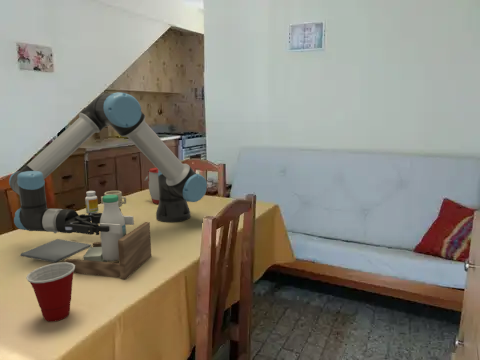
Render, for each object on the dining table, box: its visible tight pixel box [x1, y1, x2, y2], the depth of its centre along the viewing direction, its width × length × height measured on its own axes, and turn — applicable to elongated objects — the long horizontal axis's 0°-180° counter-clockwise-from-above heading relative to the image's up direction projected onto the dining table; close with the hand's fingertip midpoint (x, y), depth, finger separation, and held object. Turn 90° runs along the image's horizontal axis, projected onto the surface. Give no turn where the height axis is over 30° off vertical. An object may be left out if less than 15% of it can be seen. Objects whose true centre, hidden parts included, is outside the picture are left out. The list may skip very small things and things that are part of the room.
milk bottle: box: [99, 195, 127, 262], centre depth 127 cm, size 8×8×20 cm
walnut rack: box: [64, 221, 152, 280], centre depth 129 cm, size 20×18×12 cm
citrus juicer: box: [144, 167, 159, 205], centre depth 207 cm, size 16×17×20 cm
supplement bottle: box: [84, 190, 99, 214], centre depth 191 cm, size 5×5×10 cm
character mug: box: [100, 190, 127, 212], centre depth 175 cm, size 11×7×13 cm, turn 89°
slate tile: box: [19, 238, 92, 264], centre depth 142 cm, size 16×16×1 cm
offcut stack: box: [82, 246, 109, 262], centre depth 132 cm, size 7×10×4 cm
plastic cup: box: [25, 261, 75, 322], centre depth 98 cm, size 11×11×12 cm
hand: (126, 224), depth 126 cm, fingers closed on milk bottle, 8 cm apart
